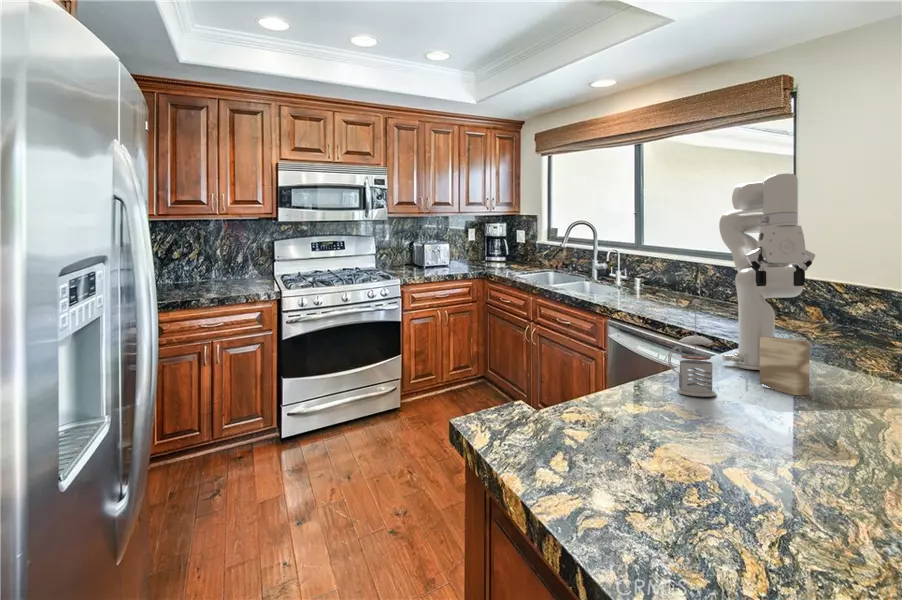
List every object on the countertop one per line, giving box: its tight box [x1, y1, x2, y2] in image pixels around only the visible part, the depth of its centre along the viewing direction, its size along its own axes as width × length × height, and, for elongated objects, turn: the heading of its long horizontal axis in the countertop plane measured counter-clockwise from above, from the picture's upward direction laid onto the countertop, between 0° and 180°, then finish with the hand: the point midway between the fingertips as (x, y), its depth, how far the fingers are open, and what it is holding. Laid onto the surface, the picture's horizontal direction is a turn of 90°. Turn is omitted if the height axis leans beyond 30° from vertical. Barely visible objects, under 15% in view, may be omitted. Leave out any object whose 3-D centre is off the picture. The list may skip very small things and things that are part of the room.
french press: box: [667, 298, 718, 397], centre depth 123 cm, size 10×12×25 cm
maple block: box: [759, 336, 811, 396], centre depth 125 cm, size 4×12×14 cm, turn 6°
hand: (780, 286), depth 122 cm, fingers open, 9 cm apart
